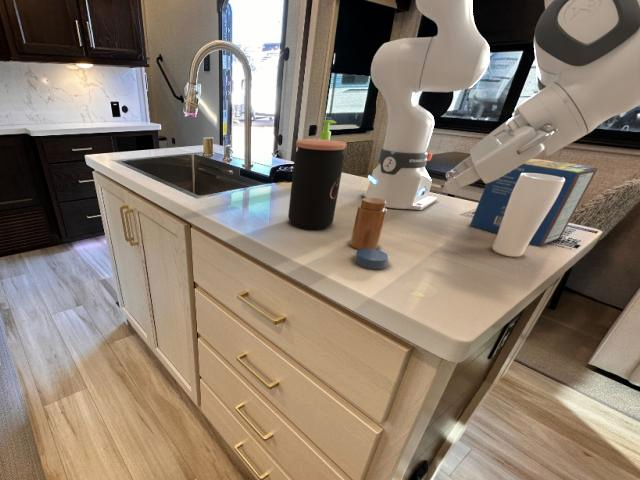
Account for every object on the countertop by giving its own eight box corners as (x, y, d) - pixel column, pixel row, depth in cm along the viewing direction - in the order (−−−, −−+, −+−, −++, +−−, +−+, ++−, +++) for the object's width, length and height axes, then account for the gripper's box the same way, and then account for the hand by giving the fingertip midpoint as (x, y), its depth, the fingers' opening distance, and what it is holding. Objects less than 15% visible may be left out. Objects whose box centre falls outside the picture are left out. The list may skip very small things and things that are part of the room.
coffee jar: (332, 233, 76) (348, 146, 67) (285, 228, 78) (294, 143, 69) (331, 218, 85) (345, 140, 76) (289, 214, 87) (297, 138, 78)
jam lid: (362, 270, 60) (364, 261, 60) (349, 256, 65) (351, 248, 64) (392, 269, 61) (394, 260, 60) (377, 256, 66) (379, 247, 65)
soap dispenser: (316, 187, 114) (326, 120, 104) (306, 182, 120) (314, 119, 109) (331, 186, 116) (342, 120, 105) (321, 182, 121) (330, 119, 111)
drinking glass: (511, 246, 72) (546, 173, 64) (534, 259, 67) (576, 181, 59) (480, 245, 72) (511, 172, 64) (500, 259, 66) (538, 179, 59)
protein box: (490, 219, 88) (517, 156, 80) (560, 238, 77) (600, 167, 69) (468, 225, 84) (494, 158, 76) (539, 246, 73) (579, 171, 64)
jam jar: (360, 239, 74) (370, 195, 69) (382, 247, 70) (394, 201, 65) (344, 244, 71) (353, 199, 66) (366, 252, 67) (378, 205, 62)
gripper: (573, 149, 42) (457, 213, 51) (541, 136, 58) (456, 187, 67) (547, 107, 42) (434, 179, 51) (522, 105, 57) (438, 160, 66)
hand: (446, 183), depth 59 cm, fingers open, 8 cm apart
